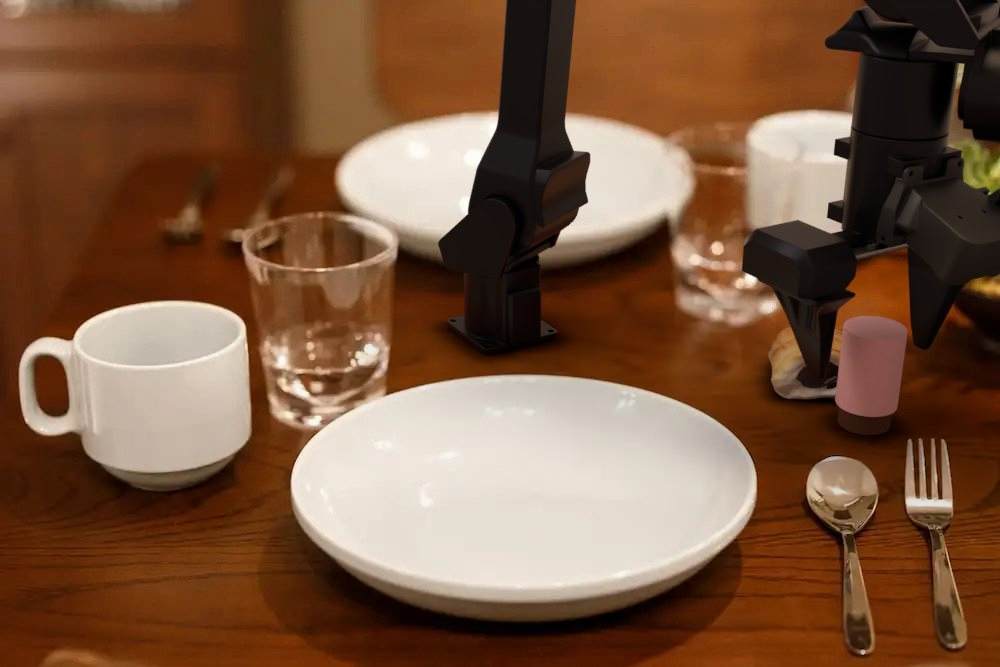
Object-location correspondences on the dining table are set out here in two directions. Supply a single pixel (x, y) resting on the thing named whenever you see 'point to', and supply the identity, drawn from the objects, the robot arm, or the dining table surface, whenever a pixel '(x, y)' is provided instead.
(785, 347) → the pastry
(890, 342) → the bottle
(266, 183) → the dining table surface
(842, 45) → the robot arm
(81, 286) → the dining table surface
